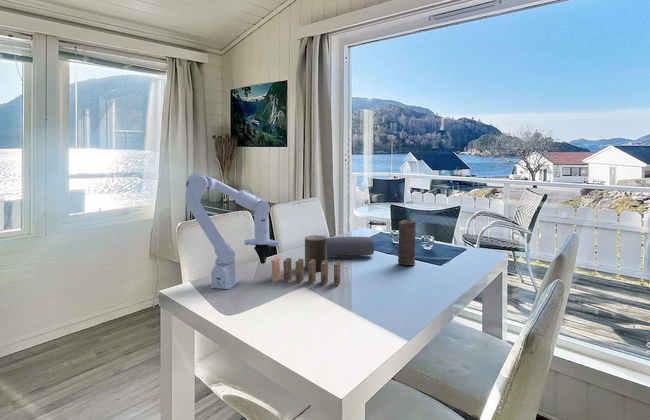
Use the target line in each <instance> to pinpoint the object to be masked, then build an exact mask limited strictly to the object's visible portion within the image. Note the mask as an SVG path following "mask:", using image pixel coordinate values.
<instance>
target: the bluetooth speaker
mask: <svg viewBox="0 0 650 420" xmlns="http://www.w3.org/2000/svg"><path fill="white" fill-rule="evenodd" d="M373 255H375V245H374V237H371V236H336V237H335V236H334V237H327V257H337V258H338V259H359V258H360V257H364V256H373Z"/></svg>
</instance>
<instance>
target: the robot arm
mask: <svg viewBox="0 0 650 420" xmlns="http://www.w3.org/2000/svg"><path fill="white" fill-rule="evenodd" d="M206 190H208V191H217V192H220V193H221V194H225V195H227V196H229V197H230V198H233V199H234V200H235V204H237V205H239V206H241V207H244V208H245V209H247V210H250V211H253V217H254V218H253V225H254V227H253V228H254V238H246V239H245V240H244V246H248V245H250V246H254V247H253V249H254V250H255V252H256V254H257V256H258V260H259V262H260V264H261V265H263V264H265V263H266V262H267V257H268V253H269V251H270V248H271V247H278V248H279V247H280V246H281V240H276V239H275V240H274V239H270V221H269V220H270V218H269V213H270V211H271V207H270V203H268V201H266V200H265V199H262V198H261V196H259V195H257V196H256V195H254V194H253V193H250V190H248V189H241V190H237V189H235V188H233V187H231V186H229V185H227V184H225V182H224V183H223V182H222V181H220V180H218V179H216V178H213V177H210V176H208V175H204V174H202V173H200V172H194V173H192V174H190V175H189V177H188V179H187V181H186V183H185V196H184V197H185V204H186V206H187V208H188V209H189V211H190V212H191V214H192V215H193V217H194V219H195V220H196V221H197V223H198V225H199V227H200V228H201V229H202V231H203V233H204V234H205V235H206V237H207V239H208V240H209V242H210V243H211V245H212V246H213V249H214V254H215V255H216V256H217V258H216V259H215V265H214V267H213V268H212V269H211V272H210V273H211V274H210V275H211V285H210V289H211V288H212V289H220V290H230V289H232V288H233V287H234V286H235V285H236V284H238V283H239V282H241V280H240V279H237V277H236V259H235V258H236V253H235V251H234V249H233V248H232V247H231V244H229V243H228V242H226V241H225V239H224V238H223V236H222V235H221V233H220V232H219V230H218V229H217V227H216V226H215V224H214V222H213V220H212V219H211V217H210V215H208V212H207V211H206V209H205V208H204V206H203V204H202V203H201V200H202V197H203V195H204V193H205V192H206Z"/></svg>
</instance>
